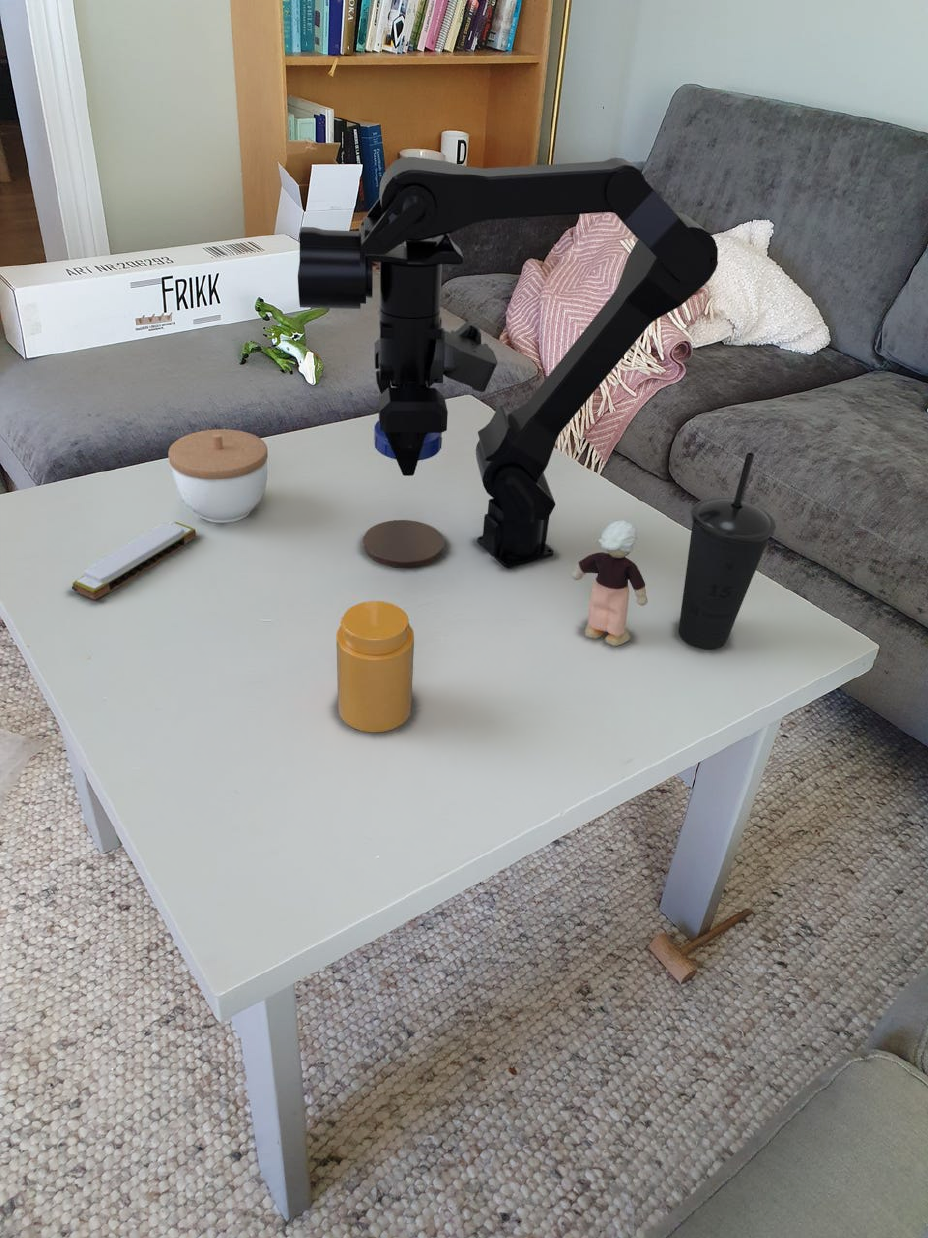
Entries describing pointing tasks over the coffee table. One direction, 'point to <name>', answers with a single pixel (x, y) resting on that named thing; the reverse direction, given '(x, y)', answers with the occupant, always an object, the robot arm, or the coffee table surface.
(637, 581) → the grandmother figurine
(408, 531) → the coaster
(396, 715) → the jar
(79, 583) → the harmonica
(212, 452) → the trinket box
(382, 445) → the lid
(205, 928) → the coffee table surface
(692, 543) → the drinking cup
